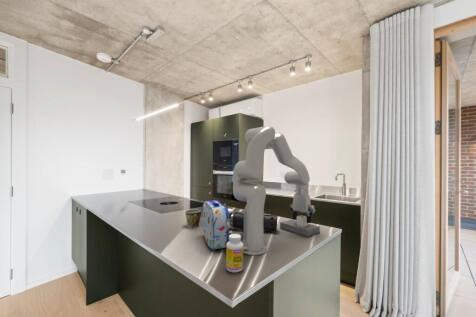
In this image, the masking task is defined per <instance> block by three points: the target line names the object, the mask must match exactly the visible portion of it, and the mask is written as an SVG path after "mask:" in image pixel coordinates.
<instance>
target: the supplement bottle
mask: <svg viewBox="0 0 476 317" xmlns="http://www.w3.org/2000/svg"><path fill="white" fill-rule="evenodd" d="M241 239H242V235H240V234H239V233H231V235H229V240H230V241H229V242H228V243H227V245H226V248H225V250H226V253H225V254H226V255H225V256H226V257H225V259H226V260H225V268H226V270H227V271H228V272H230V273H238V272H242V270H244V253H243V243H242V240H241Z"/></svg>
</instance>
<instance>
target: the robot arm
mask: <svg viewBox="0 0 476 317" xmlns="http://www.w3.org/2000/svg"><path fill="white" fill-rule="evenodd" d="M244 139H245V142H246V143H247V144H248V145H247V148H246V152H245V153H246V154H245V155H246V156H245V160H239V161H238V162H237V163H236V164H235V165H234V168H233V172H232V173H233V176H232V194H233V196H234V198H235V199H236V200H238V201H241V202H243V203H244V202H245V203H246V205H245V207H244V209H243V214H244V230H243V240H241V242H242V243H243V254H245V255H248V256H260V255H263V254H266V253H267V249H268V247H267V246H266V245H265V244H264V238H265V237H264V232H265V231H264V214H265V210H264V209H265V202H266V197H267V192H266V191H267V190H266V189H265V187H264V186H263V185H262V184H260V183H255V182H249V181H259V180H261V179H262V178H263V176H264V163H265V162H264V160H265V157H264V156H265V151H266V150H273V153H274V156H275V157H276V159H277V161H278V163H280V164H281V165H283V166H285V167H289V168H290V169H292V171H288V172H285V174H284V177H283V179H284V181H285V183H287V184H289V185H295V189H294V194H293V199H292V203H291V204H289V208H290V211H291V213H292V219H293V220H297V216H298V213H299V212H300V213H303V214H304V213H306V217H307V223H308V224H311V222H312V216H313V215H314V214H315V212H316V209H315V208H314V207H313V206H312V205H311V197H310V196H311V195H309V191H310V190H309V189H310V188H309V186H310V185H309V183H310V179H311V178H310V173H309V171H308V169H307V166H306V165H305V164H304V163H303V162H302V161H301V160H300V159H299V158H298V157H296V156H294V155H293V153H292V150H291V148H290V146H289V144H288V143H289V142H288V140H287V139H286V137H285V135H284V134H283V133H281V132H276V129H275V128H274V127H273V126H260V127H254V128H249V129H247V131H246V132H245V134H244ZM293 170H294V171H293Z"/></svg>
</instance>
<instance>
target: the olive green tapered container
mask: <svg viewBox="0 0 476 317" xmlns="http://www.w3.org/2000/svg"><path fill="white" fill-rule="evenodd" d="M184 214H185V218H186V224H187V227H188V228H189V229H198V227H199V226H200V219H201V217H202V209H194V208H193V209H187V210H185V213H184Z"/></svg>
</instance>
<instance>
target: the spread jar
mask: <svg viewBox="0 0 476 317" xmlns="http://www.w3.org/2000/svg"><path fill="white" fill-rule="evenodd" d="M227 209H228V211H229V231H231V230H233V229H234V227H233V226H231V225H230V217H231V214H232V213H234V210H233V209H232V208H227Z"/></svg>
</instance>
